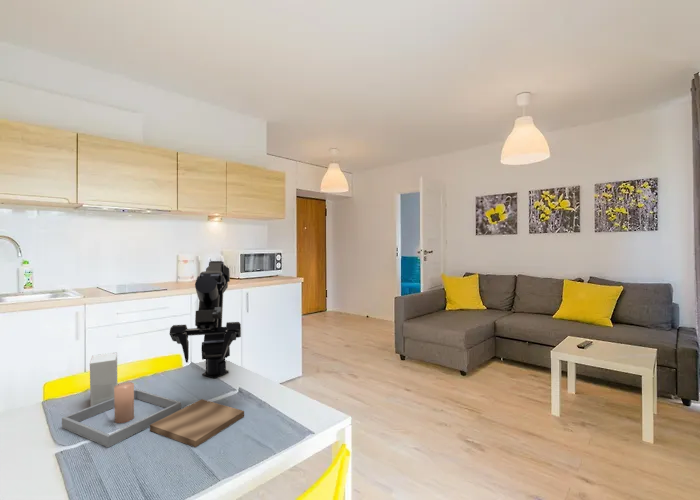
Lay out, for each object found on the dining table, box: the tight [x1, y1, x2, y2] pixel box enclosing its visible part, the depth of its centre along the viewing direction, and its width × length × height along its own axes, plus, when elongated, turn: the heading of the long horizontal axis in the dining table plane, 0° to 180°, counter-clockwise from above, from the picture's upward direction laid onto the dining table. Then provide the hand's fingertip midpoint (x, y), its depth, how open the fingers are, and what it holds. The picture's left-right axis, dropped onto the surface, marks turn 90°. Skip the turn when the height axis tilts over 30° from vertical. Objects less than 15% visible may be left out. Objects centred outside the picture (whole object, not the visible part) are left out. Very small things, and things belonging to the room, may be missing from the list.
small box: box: [89, 352, 118, 407], centre depth 104 cm, size 8×6×13 cm
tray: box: [61, 388, 182, 448], centre depth 94 cm, size 19×19×2 cm
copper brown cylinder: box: [113, 381, 135, 424], centre depth 94 cm, size 4×4×9 cm
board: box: [149, 398, 245, 448], centre depth 92 cm, size 16×16×2 cm
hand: (204, 360), depth 97 cm, fingers open, 9 cm apart
